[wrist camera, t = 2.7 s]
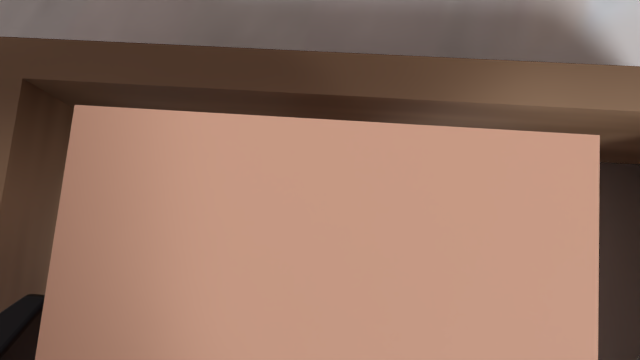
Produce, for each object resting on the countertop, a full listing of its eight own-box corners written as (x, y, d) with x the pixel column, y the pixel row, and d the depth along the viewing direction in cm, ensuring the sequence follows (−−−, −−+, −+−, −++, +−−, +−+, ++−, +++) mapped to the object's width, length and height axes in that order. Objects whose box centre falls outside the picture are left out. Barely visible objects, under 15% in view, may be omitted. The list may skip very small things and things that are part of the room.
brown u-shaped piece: (687, 628, 16) (832, 787, 11) (19, 539, 17) (-121, 639, 12) (680, 133, 18) (797, 73, 13) (86, 99, 19) (-11, 35, 15)
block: (428, 405, 17) (595, 764, 4) (270, 389, 17) (-14, 668, 5) (437, 244, 18) (599, 135, 5) (284, 232, 18) (73, 104, 5)
